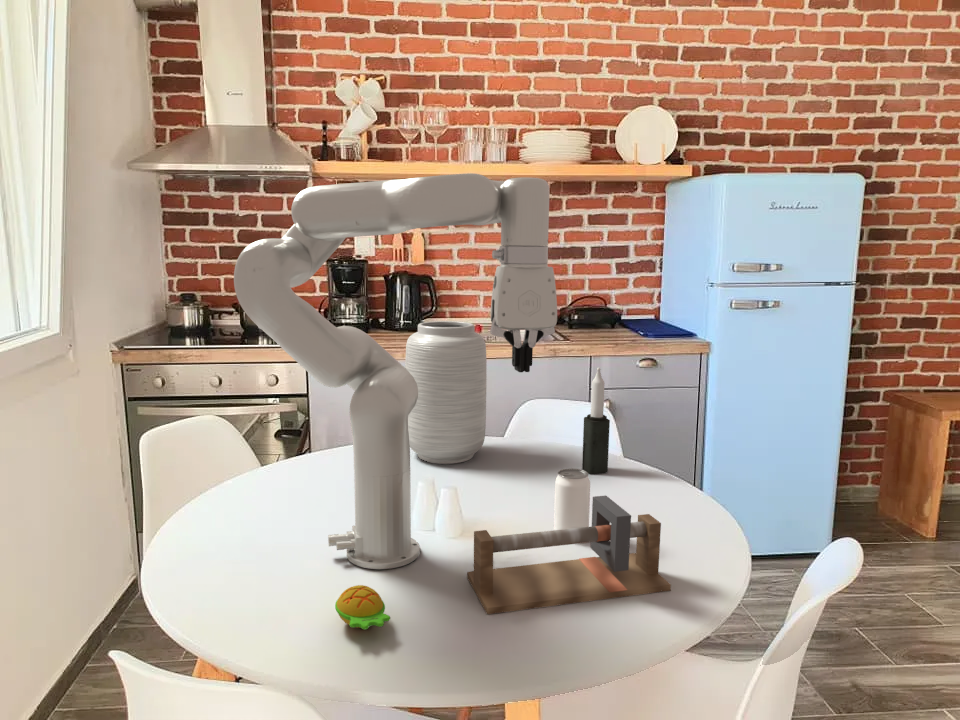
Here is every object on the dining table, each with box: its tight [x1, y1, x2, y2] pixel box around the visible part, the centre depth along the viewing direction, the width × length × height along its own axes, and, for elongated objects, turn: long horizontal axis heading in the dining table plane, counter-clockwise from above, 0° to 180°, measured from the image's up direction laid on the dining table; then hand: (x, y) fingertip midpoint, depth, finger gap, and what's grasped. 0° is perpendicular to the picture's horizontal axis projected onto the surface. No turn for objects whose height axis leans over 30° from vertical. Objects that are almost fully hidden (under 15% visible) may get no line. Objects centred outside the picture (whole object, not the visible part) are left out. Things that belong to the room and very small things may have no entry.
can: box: [553, 468, 591, 530], centre depth 133 cm, size 6×6×12 cm
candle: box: [581, 367, 611, 475], centre depth 170 cm, size 5×5×25 cm
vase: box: [404, 320, 488, 465], centre depth 180 cm, size 20×20×34 cm
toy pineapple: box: [334, 584, 391, 630], centre depth 101 cm, size 7×10×5 cm
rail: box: [466, 513, 672, 615], centre depth 114 cm, size 30×12×10 cm, turn 105°
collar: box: [590, 495, 632, 572], centre depth 116 cm, size 2×9×9 cm, turn 15°
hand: (521, 370), depth 118 cm, fingers closed
